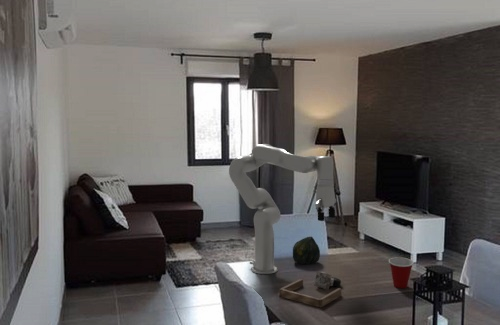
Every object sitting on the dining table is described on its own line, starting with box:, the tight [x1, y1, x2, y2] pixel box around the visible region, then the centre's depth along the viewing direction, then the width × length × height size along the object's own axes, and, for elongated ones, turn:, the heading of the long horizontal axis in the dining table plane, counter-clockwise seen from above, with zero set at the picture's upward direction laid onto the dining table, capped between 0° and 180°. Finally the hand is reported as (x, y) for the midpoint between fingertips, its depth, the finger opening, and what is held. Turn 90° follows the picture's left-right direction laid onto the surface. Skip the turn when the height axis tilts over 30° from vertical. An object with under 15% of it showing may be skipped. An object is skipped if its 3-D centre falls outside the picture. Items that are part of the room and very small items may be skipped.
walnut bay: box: [278, 278, 342, 308], centre depth 198 cm, size 20×17×3 cm
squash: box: [292, 236, 321, 265], centre depth 246 cm, size 14×15×15 cm
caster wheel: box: [313, 271, 342, 291], centre depth 210 cm, size 7×11×10 cm
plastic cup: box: [388, 256, 415, 289], centre depth 209 cm, size 11×11×12 cm
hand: (326, 219), depth 217 cm, fingers open, 9 cm apart
